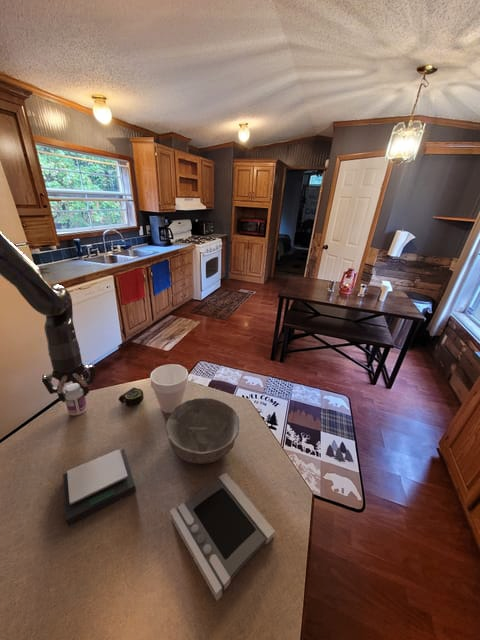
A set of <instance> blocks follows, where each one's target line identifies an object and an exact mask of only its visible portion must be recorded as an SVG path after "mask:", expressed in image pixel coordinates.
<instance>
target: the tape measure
mask: <svg viewBox="0 0 480 640" xmlns="http://www.w3.org/2000/svg"><path fill="white" fill-rule="evenodd" d="M117 398H118V401H119V402H120V403H121V404H124V405H125V406H127V407H135V406H138V405H140V404H141V403H142V402H143V401H144V399H145V395H144V391H143V390H142V389H141V388H137V387H132V388H130V389H129V390H128V391H126V392H124V393H123V394H121V395H120V396H119V397H117Z"/></svg>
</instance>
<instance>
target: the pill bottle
mask: <svg viewBox="0 0 480 640" xmlns="http://www.w3.org/2000/svg"><path fill="white" fill-rule="evenodd" d="M64 388H65V389H64V390H65V392H64V397H65V404H66V409H67V412H68V414H69V415H70V416H80V415H82V414H83V413H85V412H86V411H87V409H88V405H87V400H86V396H85V395H84V390H83V388H82V387H81V385H80V383H79V382H78V383H77V382H74V383H73V382H72V383H70V384H68V385H67V386H65V387H64Z"/></svg>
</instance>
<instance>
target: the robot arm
mask: <svg viewBox="0 0 480 640" xmlns="http://www.w3.org/2000/svg"><path fill="white" fill-rule="evenodd" d="M0 276H1V277H2V278H3V279H5V281H7V282H9V284H10V285H12V286H13V287H15V289H16V290H17V291H18V293H19V294H20V295H21V296H22V298H23V299H24V300H25V301H26V302H27V303H28V304H29V306H30V307H31V308H32V309H33V310H34V311H36V312H37V313H39V314H40V315H42V316H45V323H44V325H43V326H44V327H43V328H44V329H43V330H44V334H45V338H46V342H47V343H46V344H47V351H48V356H49V359H50V363H51V367H52V372H51V373H48V374H43V375H41V382H42V383H43V385H44V387H45V389H46V390H47V391H48V393H49V395H53V394H57V397H58V401H59V402H62V403H66V401H65V397H64V396H65V392H64V388H65V384H68V383H70V382H76V381H78V384H81V385H82V389H83V391H84V395H85V397H86V396H88V394H89V393H90V388H89V385H91V384H93V383H94V382H95V372H96V371H95V370H96V368H95V365H94V363H90V364H89V365H85V364H84V363H83V360H82V355H81V347H80V344H79V341H78V338H77V334H76V329H75V325H74V318H73V317H74V314H73V313H74V312H73V301H72V300H73V299H72V296H71V293H70V292H69V290H68V289H67V288H65V287H64V286H62V285H59V284H50V285H49V283H47V282H46V280H45V279H44V278H43V272H42V271H41V269H40V268H39V267H38V266H37V265H36V264H35V263H33V261H31V260H30V259H29V258H28V257H27V256H26V255H25V254H23V252H22V251H20V249H18V248H17V247H16V246H15V245H14V244H13V243H12V242H10V240H9V239H7V238H6V236H4V235H3V234H2V232H0ZM85 371H86V372H87V373H88V378H85V377H84V375H83V373H84V372H85ZM53 378H54V379H55V380H57V381H58V382H57V386H54V385H53V383H52V380H53Z"/></svg>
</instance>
